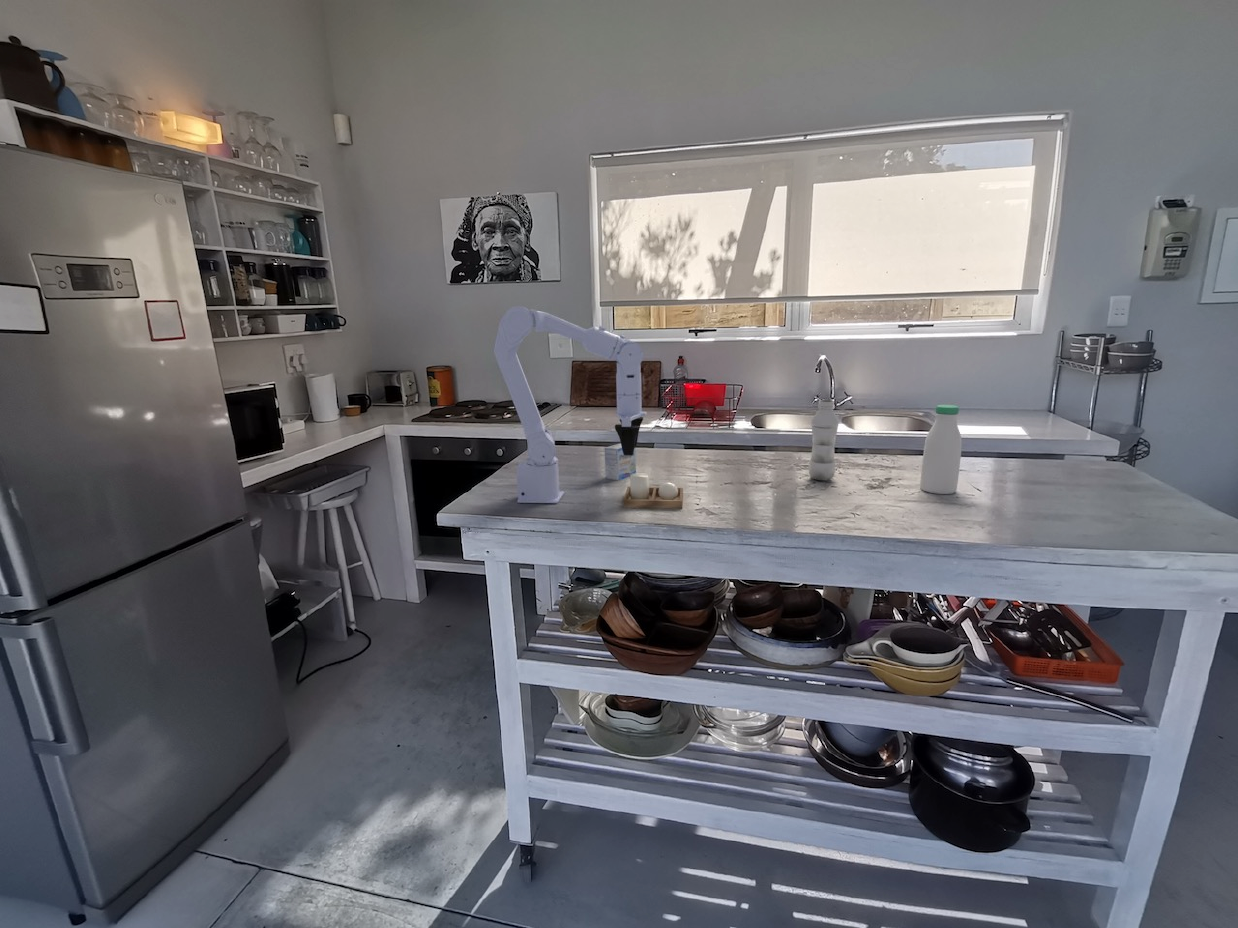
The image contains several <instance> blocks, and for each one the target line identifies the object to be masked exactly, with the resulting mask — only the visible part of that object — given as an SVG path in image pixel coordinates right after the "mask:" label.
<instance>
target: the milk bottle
mask: <svg viewBox="0 0 1238 928" xmlns="http://www.w3.org/2000/svg"><path fill="white" fill-rule="evenodd" d="M959 412H960V407H959V406H958V405H953V404H938V405H936V407H935V414H934V415H935V420H934V423H933V425H932V426H931V428H930V429H929V430H928V432H927V434H926V438H925V441H924V446H923V455H922V462H921V463H922V464H921V472H920V481H919V482H920V483H919V488H920V490H922V491H924V492H927V493H931V494H938V495H952V494H954V493H956V492H957V489H958V481H959V477H960V476H959V474H960V466H961V458H962V449H963V448H962V447H963V440H962V435H961V433H960V432H961V431H960V430H959V427H958V423H957V418H958V417H959Z"/></svg>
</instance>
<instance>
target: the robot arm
mask: <svg viewBox="0 0 1238 928" xmlns="http://www.w3.org/2000/svg"><path fill="white" fill-rule="evenodd" d="M533 328H534V330H535V333H540V332H547V331H548V332H549V331H550V332H551V333H554V334H557V335H560V336H562V337H566V338H568V339H572V340H574V341H577V342H580V343H581V344H582V346H583V348H584V350H585V351H586V352H588V353H590V354H594V355H596V356H598V357H601V358H603V359H606V360H609V361H613V360H615V361H616V373H615V379H616V381H615V382H616V385H615V386H616V414H615V415H616V417H617V418H618V419H619V422H620V424H619V423H618V424H615V425H614V430H615V431H616V433H617V435H618V438H619V440H620V443H621V446H622V451H623V454H624V455H633V453H634V448H636V447H637V445H638V438H639V433H640V429H641V425H642V422H643V420H644V417H646V416H647V415H648V414H647V413H648V412H647V411H643V410H642V407H643V406H642V401H643V400H642V373H641V368H642V367H641V366H642V365H641V363H642V362H643V359H644V353H643V349H642V346H640V345H639V344H638V343H637V342H635V341H632V340H631V339H628V338H626V336H625V335H623V334H620V335H617V334H615V333H612V332H610V331H608V330H606V329H607V328H606V327H604V326H602V325H599V327H598V326H595V325H594V326H592V327H590V328H587V329H586V328H584V327H581V326H579V325H577V324H574V323H572V322H569V321H567V320H565V319H562V318H560V317H558V316H556V315H553V314H551V313H548V312H546V311H541V310H540V311H539V310H535V309H533V308H532V309H528V308H527V307H524V306H513V307H510V308H509V309H508V310H506V311H505V314H503V317H502V319H501V320H500V321H499V324H498V330H497V334H496V339H495V342H494V343H495V344H494V348H493V354H494V357H495V359H496V362H497V364H498V367H499V370H500V372H501V375H502V378H503V380H504V382H505V385H506V387H507V389H508V393H509V395H510V397H511V400H512V403H513V405H514V407H515V410H516V413H517V415H518V417H519V420H520V423H521V426H522V429H523V431H524V436H525V439H526V442H527V456H528V458H526V461H519V463H518V464H517V467H516V485H517V486H516V489H517V501H516V502H517V503H520V504H522V503H524V504H526V503H527V504H530V503H531V504H557V503H559V501H560V500H561V499H562V497H563V496H564V494H565V492H564V491H563V490H560V480H559V478H560V477H559V462H558V461H559V459H558V458H557V457H556V452H557V451H556V450H557V449H556V441H555V438H554V436H553V434H552V433H551V432H550V431H548V429H547V427H546V425H545V423H544V421H543V419H542V416H541V414H540V411H539V408H538V407H537V403H536V401H535V398H534V395H533V393H532V390H531V387H530V386H529V383H528V379H527V377H526V375H525V372H524V370H523V367H522V364H521V362H520V359H519V356H518V354H517V353H518V350H519V348H520V346H521V344H522V342H523V340H524V339H525V338H526V337H527V335H529V334H530V332H532V330H533ZM625 338H626V339H625Z"/></svg>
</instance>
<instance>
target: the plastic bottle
mask: <svg viewBox="0 0 1238 928" xmlns="http://www.w3.org/2000/svg"><path fill="white" fill-rule="evenodd" d="M817 409H818V411H817V412H816V413H815V414H814V416H813V417H812V418H811V419H812V420H811V433H812V434H811V435H812V448H811V453H810V454H811V456H810V461H809V465H808V474H809V476H810V478H811V479H812V480H813V479H814V480H817V481H829V480H832V479H833V478H834V477H835V473H836V462H835V444H836V438H837V433H838V429H839V424H840V423H839V418H838V417H837V415H836V413H835V412H834V409H835V400H833V399H819V400H818V404H817Z"/></svg>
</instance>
